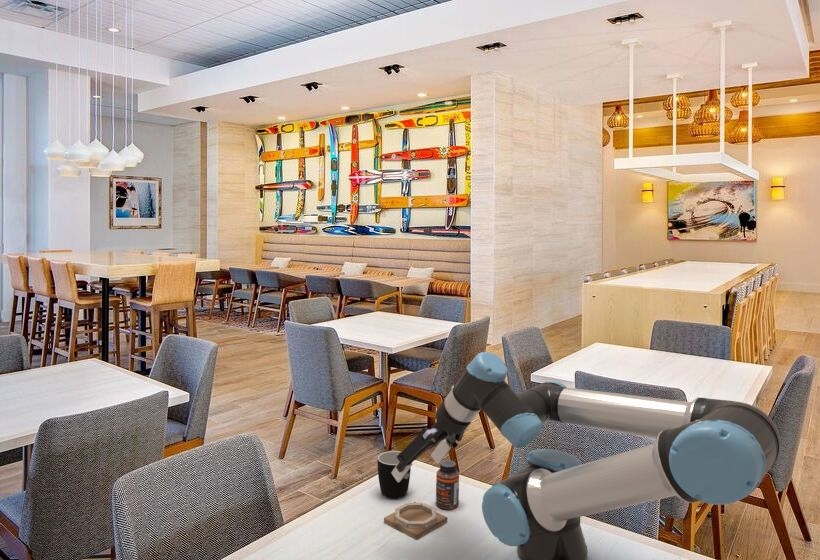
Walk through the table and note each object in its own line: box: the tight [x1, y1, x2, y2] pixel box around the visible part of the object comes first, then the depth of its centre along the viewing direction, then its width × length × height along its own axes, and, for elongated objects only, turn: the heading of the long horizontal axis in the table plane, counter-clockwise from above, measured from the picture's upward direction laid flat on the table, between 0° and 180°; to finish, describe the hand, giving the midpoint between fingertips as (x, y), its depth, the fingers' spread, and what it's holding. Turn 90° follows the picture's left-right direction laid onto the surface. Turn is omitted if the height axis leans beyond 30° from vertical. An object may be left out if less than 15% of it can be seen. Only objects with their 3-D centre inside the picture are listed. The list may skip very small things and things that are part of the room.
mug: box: [377, 450, 412, 500], centre depth 158 cm, size 12×9×10 cm
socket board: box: [383, 501, 448, 540], centre depth 143 cm, size 11×11×2 cm
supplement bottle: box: [435, 459, 460, 510], centre depth 151 cm, size 6×6×11 cm
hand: (415, 468), depth 138 cm, fingers open, 13 cm apart
